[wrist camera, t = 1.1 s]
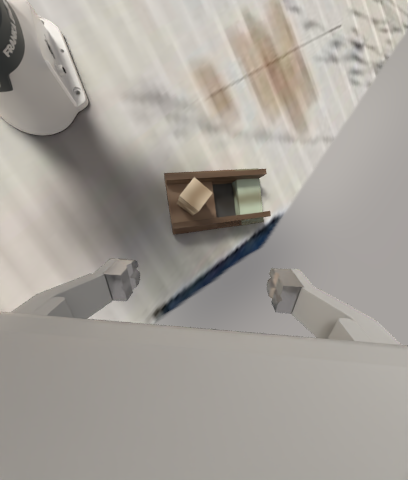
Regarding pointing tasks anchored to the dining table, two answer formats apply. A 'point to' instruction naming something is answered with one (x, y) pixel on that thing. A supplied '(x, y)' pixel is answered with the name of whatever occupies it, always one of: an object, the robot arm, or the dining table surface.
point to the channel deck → (217, 199)
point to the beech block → (194, 196)
